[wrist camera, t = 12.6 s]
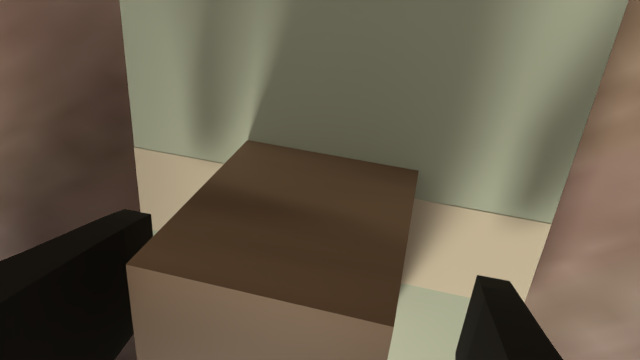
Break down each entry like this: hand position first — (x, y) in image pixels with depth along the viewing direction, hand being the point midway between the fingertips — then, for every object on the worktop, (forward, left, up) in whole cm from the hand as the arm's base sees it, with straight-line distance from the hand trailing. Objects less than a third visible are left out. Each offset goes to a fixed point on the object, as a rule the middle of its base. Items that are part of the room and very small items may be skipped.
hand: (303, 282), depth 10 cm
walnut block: (0, 0, -2) cm, 2 cm away
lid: (0, 0, -3) cm, 3 cm away
